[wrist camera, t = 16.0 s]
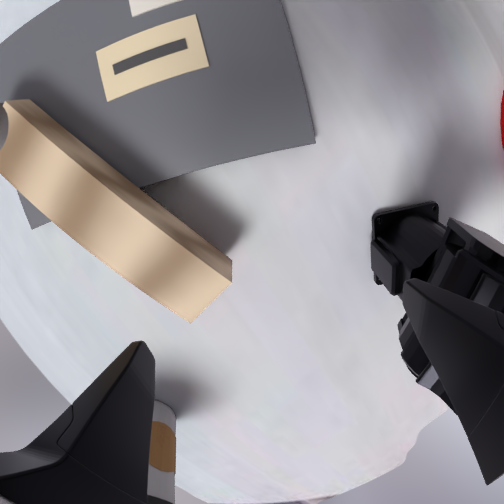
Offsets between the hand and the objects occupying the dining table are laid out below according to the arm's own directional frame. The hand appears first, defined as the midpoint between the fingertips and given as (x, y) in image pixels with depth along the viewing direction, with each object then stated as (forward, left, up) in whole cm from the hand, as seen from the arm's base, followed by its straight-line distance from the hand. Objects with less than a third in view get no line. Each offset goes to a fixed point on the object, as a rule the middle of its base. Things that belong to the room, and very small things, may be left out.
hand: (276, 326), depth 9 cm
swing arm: (+10, -4, -12) cm, 16 cm away
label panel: (+7, -12, -13) cm, 19 cm away
